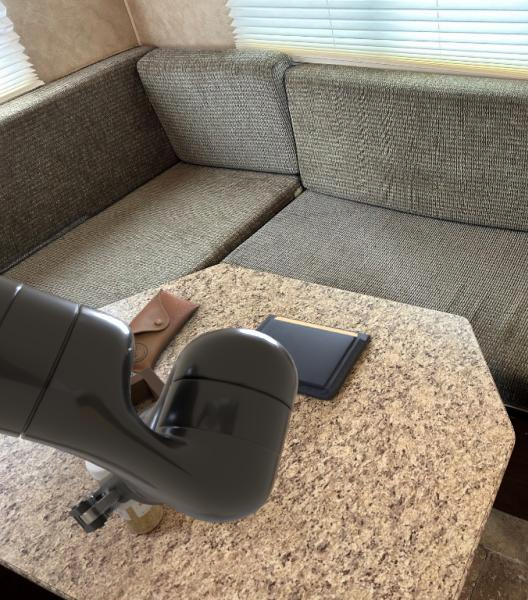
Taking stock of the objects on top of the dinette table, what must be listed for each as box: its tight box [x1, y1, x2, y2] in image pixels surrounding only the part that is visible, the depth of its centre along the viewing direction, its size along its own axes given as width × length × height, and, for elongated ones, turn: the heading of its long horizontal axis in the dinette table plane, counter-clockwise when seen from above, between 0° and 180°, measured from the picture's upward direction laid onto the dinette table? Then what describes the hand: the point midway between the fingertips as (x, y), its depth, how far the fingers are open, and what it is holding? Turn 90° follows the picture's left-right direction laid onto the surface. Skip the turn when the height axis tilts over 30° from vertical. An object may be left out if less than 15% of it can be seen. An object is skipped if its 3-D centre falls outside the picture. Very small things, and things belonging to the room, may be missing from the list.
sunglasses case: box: [128, 288, 201, 373], centre depth 105 cm, size 18×7×7 cm
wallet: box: [254, 313, 372, 402], centre depth 98 cm, size 20×2×15 cm
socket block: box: [130, 367, 166, 416], centre depth 88 cm, size 10×17×4 cm, turn 42°
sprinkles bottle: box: [85, 460, 164, 535], centre depth 73 cm, size 5×5×13 cm
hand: (139, 470), depth 61 cm, fingers open, 8 cm apart
